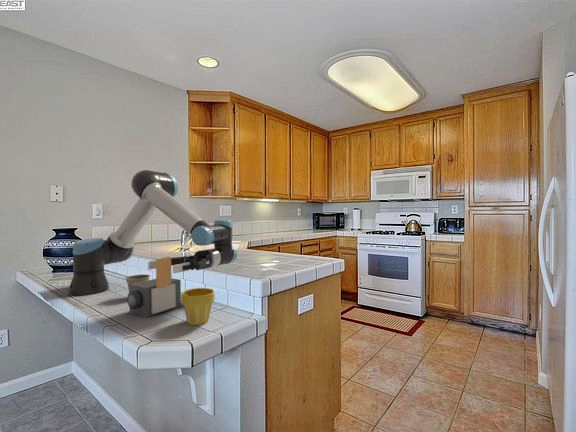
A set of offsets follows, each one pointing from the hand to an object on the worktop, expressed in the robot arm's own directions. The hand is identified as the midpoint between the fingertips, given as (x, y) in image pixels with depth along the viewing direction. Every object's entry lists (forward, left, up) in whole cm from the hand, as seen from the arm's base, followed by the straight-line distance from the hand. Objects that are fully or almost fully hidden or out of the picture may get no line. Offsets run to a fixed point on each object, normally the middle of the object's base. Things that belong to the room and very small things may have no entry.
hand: (160, 267), depth 105 cm
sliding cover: (-1, +1, -15) cm, 15 cm away
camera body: (-5, -5, -16) cm, 18 cm away
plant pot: (+7, +15, -17) cm, 23 cm away
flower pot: (-22, -18, -17) cm, 33 cm away
